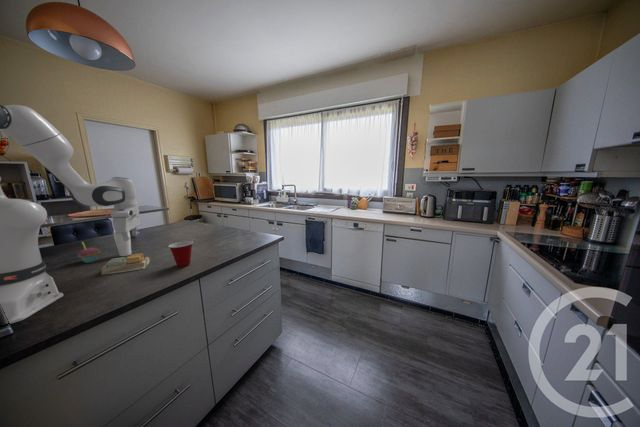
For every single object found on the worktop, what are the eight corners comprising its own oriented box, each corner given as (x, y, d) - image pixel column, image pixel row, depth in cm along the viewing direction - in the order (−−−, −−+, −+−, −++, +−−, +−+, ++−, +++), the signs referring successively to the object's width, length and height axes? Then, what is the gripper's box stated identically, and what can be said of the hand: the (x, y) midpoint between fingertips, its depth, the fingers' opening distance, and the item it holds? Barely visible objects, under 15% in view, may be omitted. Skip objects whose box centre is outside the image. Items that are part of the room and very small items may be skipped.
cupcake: (89, 264, 110) (84, 242, 108) (73, 264, 110) (68, 242, 108) (106, 257, 118) (102, 237, 116) (91, 257, 119) (87, 237, 116)
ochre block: (140, 265, 106) (139, 256, 105) (128, 267, 104) (126, 258, 103) (144, 262, 111) (142, 253, 110) (132, 263, 109) (130, 254, 108)
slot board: (143, 268, 105) (142, 259, 104) (101, 275, 98) (99, 265, 98) (150, 261, 114) (148, 252, 113) (111, 266, 107) (110, 257, 106)
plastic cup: (189, 258, 118) (187, 238, 115) (199, 263, 112) (196, 242, 109) (167, 265, 109) (164, 243, 107) (176, 271, 103) (173, 248, 101)
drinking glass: (123, 257, 119) (119, 232, 116) (114, 256, 120) (109, 231, 117) (136, 253, 125) (132, 229, 122) (127, 252, 127) (123, 228, 124)
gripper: (127, 208, 110) (131, 233, 112) (108, 214, 92) (113, 244, 94) (142, 207, 113) (145, 232, 115) (126, 213, 94) (130, 242, 97)
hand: (130, 237), depth 104 cm, fingers open, 8 cm apart
